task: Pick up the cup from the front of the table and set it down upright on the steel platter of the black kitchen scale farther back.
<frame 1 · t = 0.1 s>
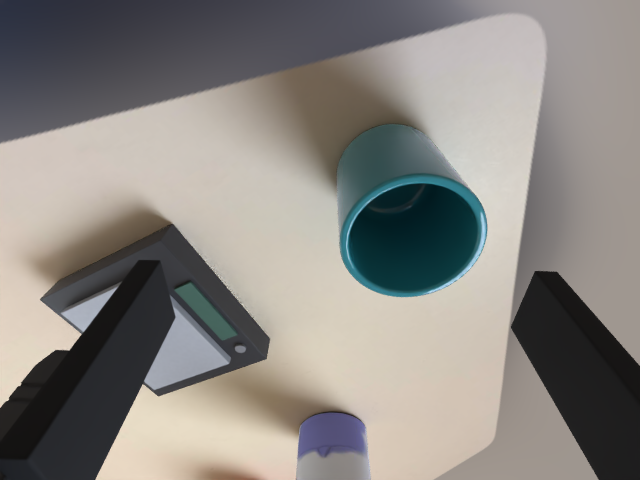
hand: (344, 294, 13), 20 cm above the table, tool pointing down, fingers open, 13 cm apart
container: (332, 429, 54), on the table
cup: (398, 182, 32), on the table
scale: (169, 311, 41), on the table
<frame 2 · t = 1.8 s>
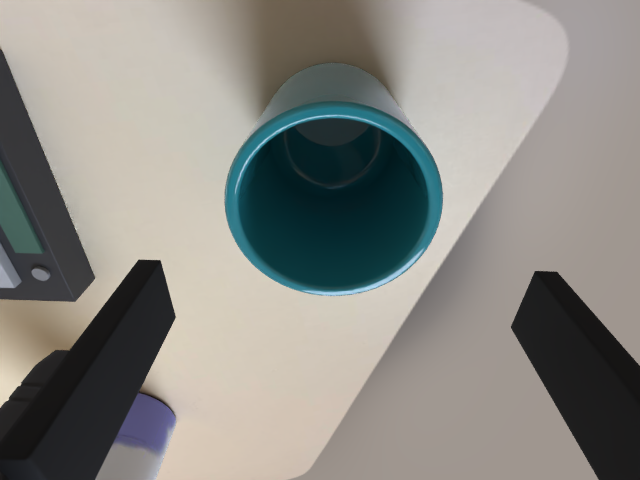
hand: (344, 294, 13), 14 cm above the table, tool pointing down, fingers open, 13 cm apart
container: (135, 412, 43), on the table
cup: (339, 153, 25), on the table
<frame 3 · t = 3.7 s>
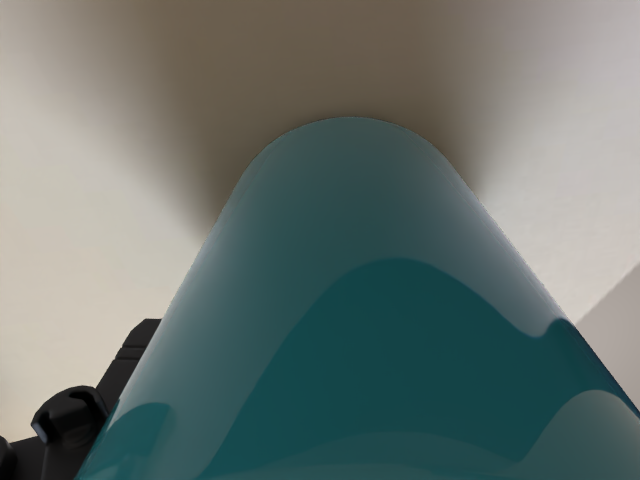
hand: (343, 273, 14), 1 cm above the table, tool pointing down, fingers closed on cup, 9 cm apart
cup: (358, 252, 15), on the table, touching gripper
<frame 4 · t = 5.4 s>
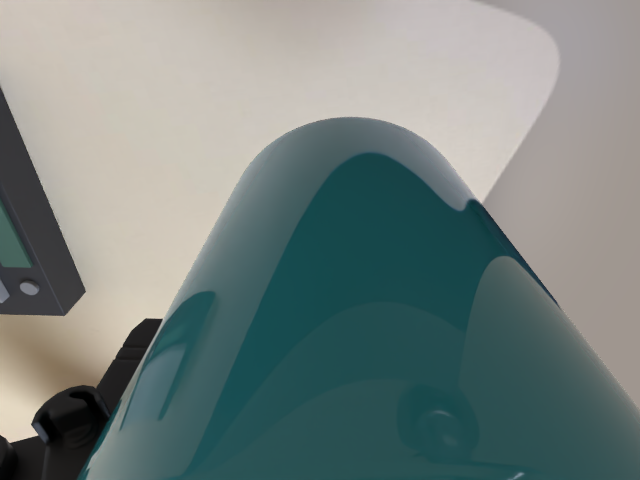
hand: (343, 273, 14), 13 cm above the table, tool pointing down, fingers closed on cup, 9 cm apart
cup: (358, 252, 15), point 11 cm above the table, touching gripper
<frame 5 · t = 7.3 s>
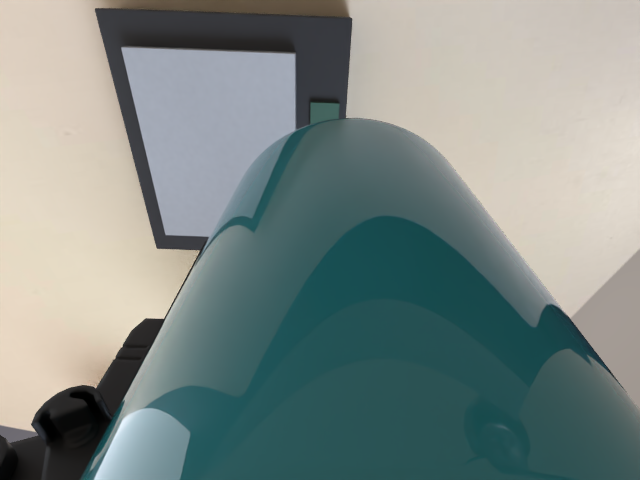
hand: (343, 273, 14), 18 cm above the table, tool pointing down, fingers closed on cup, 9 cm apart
cup: (359, 253, 15), point 17 cm above the table, touching gripper
scale: (244, 141, 30), on the table
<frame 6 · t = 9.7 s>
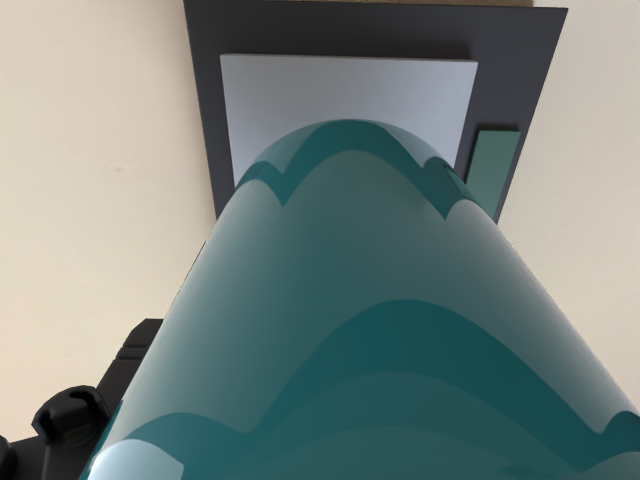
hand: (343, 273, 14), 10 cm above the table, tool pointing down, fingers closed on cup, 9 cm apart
cup: (358, 253, 15), point 8 cm above the table, touching gripper
scale: (354, 178, 22), on the table
when the fingers open (5 cm above the table, at t = 11.3 s): cup stays where it is, resting on scale.
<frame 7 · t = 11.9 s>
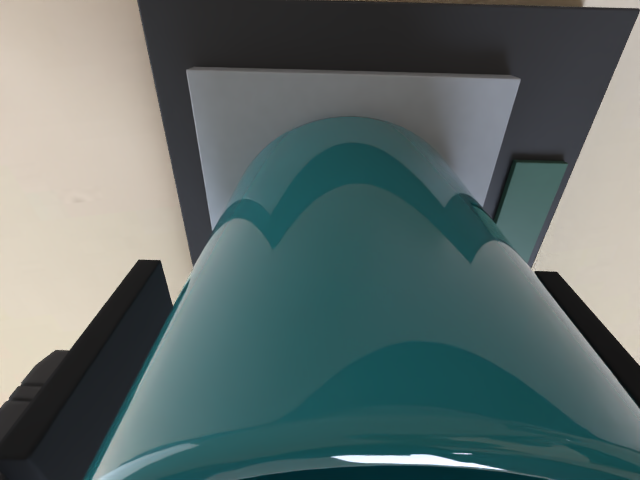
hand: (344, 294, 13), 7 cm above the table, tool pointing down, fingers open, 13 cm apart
cup: (356, 249, 16), point 4 cm above the table, touching scale
scale: (358, 210, 19), on the table
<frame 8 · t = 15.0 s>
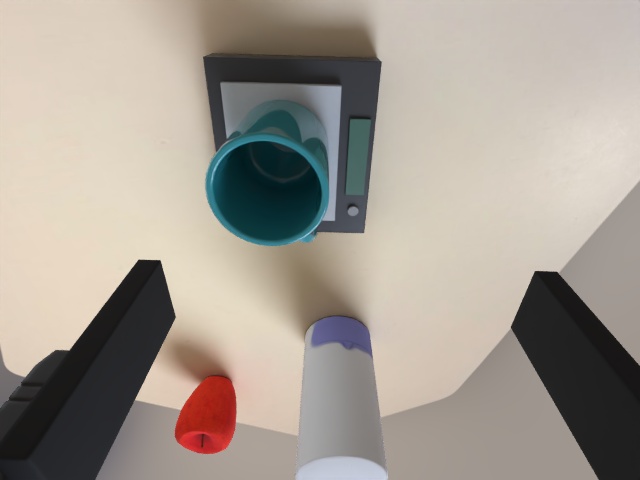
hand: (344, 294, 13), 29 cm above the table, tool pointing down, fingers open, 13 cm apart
container: (337, 337, 56), on the table
cup: (290, 158, 36), point 4 cm above the table, touching scale
apple: (218, 382, 62), on the table
scale: (296, 147, 39), on the table
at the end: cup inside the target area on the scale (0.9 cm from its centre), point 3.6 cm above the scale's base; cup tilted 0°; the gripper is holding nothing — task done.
